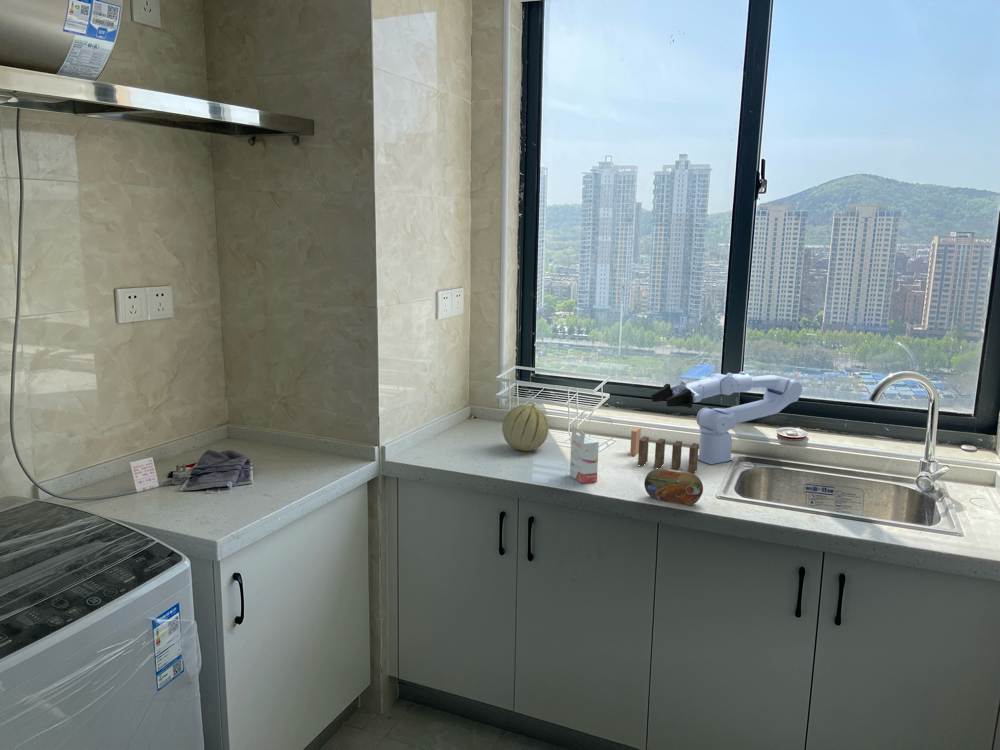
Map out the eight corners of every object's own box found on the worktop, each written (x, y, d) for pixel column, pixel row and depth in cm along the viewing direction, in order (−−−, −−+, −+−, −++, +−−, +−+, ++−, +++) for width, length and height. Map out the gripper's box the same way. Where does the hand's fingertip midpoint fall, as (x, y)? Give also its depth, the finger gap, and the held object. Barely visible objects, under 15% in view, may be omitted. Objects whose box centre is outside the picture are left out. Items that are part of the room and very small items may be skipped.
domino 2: (647, 462, 225) (648, 436, 223) (643, 466, 221) (644, 440, 219) (642, 461, 226) (643, 436, 224) (637, 465, 221) (639, 440, 220)
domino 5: (697, 469, 218) (698, 443, 217) (693, 474, 214) (695, 448, 213) (691, 468, 219) (693, 443, 218) (687, 473, 215) (689, 447, 213)
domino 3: (663, 464, 223) (665, 439, 221) (659, 469, 218) (661, 443, 217) (658, 463, 224) (660, 438, 222) (654, 468, 219) (655, 442, 218)
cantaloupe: (492, 450, 235) (493, 404, 232) (521, 440, 245) (522, 397, 242) (528, 460, 225) (529, 412, 222) (557, 450, 236) (558, 404, 233)
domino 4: (680, 467, 221) (682, 441, 219) (676, 471, 216) (678, 445, 215) (675, 466, 221) (676, 440, 220) (671, 470, 217) (672, 444, 215)
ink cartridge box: (598, 482, 206) (600, 431, 203) (582, 484, 204) (584, 433, 201) (584, 473, 214) (586, 424, 211) (568, 474, 212) (570, 425, 209)
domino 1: (639, 452, 235) (640, 427, 234) (635, 456, 231) (636, 431, 229) (634, 451, 236) (635, 427, 234) (630, 455, 231) (631, 430, 230)
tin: (643, 497, 195) (644, 467, 193) (646, 494, 198) (648, 464, 196) (700, 508, 188) (702, 476, 186) (703, 504, 191) (705, 473, 189)
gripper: (681, 374, 227) (644, 383, 222) (711, 381, 214) (673, 391, 209) (683, 395, 229) (646, 405, 224) (713, 404, 215) (675, 415, 211)
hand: (659, 400), depth 217 cm, fingers open, 7 cm apart
